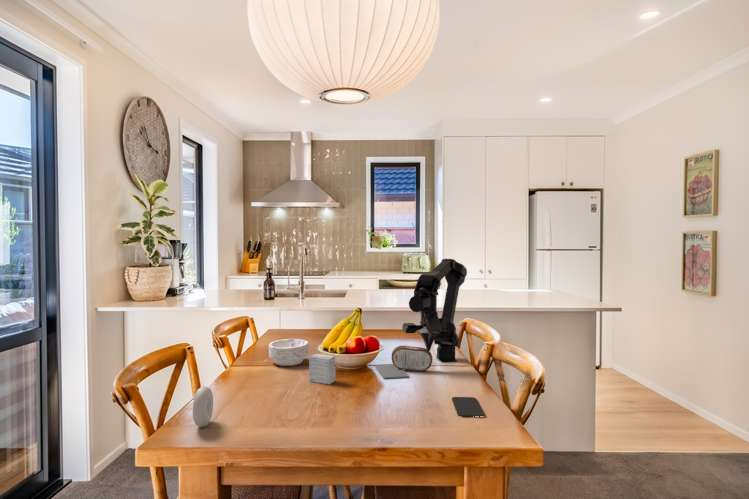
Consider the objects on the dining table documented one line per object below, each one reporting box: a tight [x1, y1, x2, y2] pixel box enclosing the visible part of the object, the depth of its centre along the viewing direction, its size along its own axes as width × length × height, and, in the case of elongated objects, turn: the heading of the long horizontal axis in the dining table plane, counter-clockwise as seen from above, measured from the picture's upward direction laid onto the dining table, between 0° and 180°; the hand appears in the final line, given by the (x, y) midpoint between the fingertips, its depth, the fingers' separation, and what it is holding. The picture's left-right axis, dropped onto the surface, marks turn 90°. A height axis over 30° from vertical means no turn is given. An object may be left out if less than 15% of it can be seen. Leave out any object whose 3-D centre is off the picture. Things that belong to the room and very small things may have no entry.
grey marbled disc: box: [192, 385, 214, 428], centre depth 118 cm, size 10×3×10 cm, turn 6°
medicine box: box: [308, 353, 336, 385], centre depth 155 cm, size 8×4×9 cm, turn 65°
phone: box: [451, 396, 486, 418], centre depth 132 cm, size 7×1×15 cm
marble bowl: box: [268, 338, 310, 367], centre depth 177 cm, size 15×15×8 cm
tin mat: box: [374, 363, 410, 380], centre depth 166 cm, size 9×16×1 cm, turn 11°
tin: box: [391, 345, 433, 372], centre depth 168 cm, size 15×3×8 cm, turn 85°
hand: (428, 350), depth 169 cm, fingers closed
